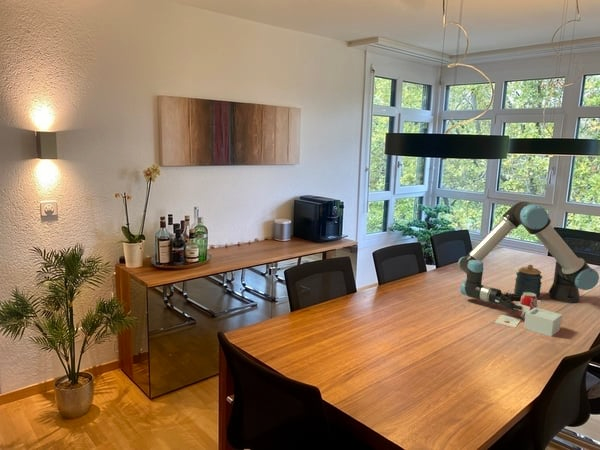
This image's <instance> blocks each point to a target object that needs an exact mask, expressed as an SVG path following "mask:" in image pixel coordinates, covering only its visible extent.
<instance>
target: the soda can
mask: <svg viewBox="0 0 600 450" xmlns="http://www.w3.org/2000/svg"><path fill="white" fill-rule="evenodd" d="M537 300H538V299H537V297H536V294H534V293H531V292H523V295H522V296H521V301H520V302H519V304H521V305H525V306H528V307H530V310H532V309H533V308H535V307H536V308H537V307H538V306H537ZM518 311H519V312H518V315H519V317H520V318H522V319H523V320H525V314H526V313H527V312H524V311H520V310H518Z"/></svg>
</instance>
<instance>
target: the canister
mask: <svg viewBox="0 0 600 450" xmlns="http://www.w3.org/2000/svg"><path fill="white" fill-rule="evenodd" d="M515 274H516V277H515V279H514V280H515V284H514V288H513V289H514V290H513V292H514V293H513V294H518V295H523V292H531V293H534V294H536V297H537V300H539V298H540V296H541V290H542V289H541V287H542V278H543V276H542V275H541V274H542V272H541V270H539V268H537V267H534V266H533V265H532V264H528V265H527V266H523V267H522V266H521V267H520V268H518V271H517V272H516V273H515Z"/></svg>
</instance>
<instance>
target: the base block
mask: <svg viewBox="0 0 600 450" xmlns="http://www.w3.org/2000/svg"><path fill="white" fill-rule="evenodd" d="M562 319H563V314H562V313H558V312H553V311H550V310H546V309H543V308H540V307H537V306H536V307H535V308H533V309H532V310H530V311H528V312H527V313H526V314H525V319H524V322H523V329H525V330H528V331H532V332H534V333H538V334H541V335H545V336H548V337H552V336H554V335H555V334H556V333H558V332H559V331H560V330H561V325H562Z"/></svg>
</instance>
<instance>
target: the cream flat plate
mask: <svg viewBox="0 0 600 450" xmlns="http://www.w3.org/2000/svg"><path fill="white" fill-rule="evenodd" d="M521 320H522V319H520V318H517V317H513V316H508V315H503V314H500V316H498V318H497V319H496V320H495V321H494V323H495V324H498V325H503V326H508V327H511V328H517V326H518V324H520V323H521Z"/></svg>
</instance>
